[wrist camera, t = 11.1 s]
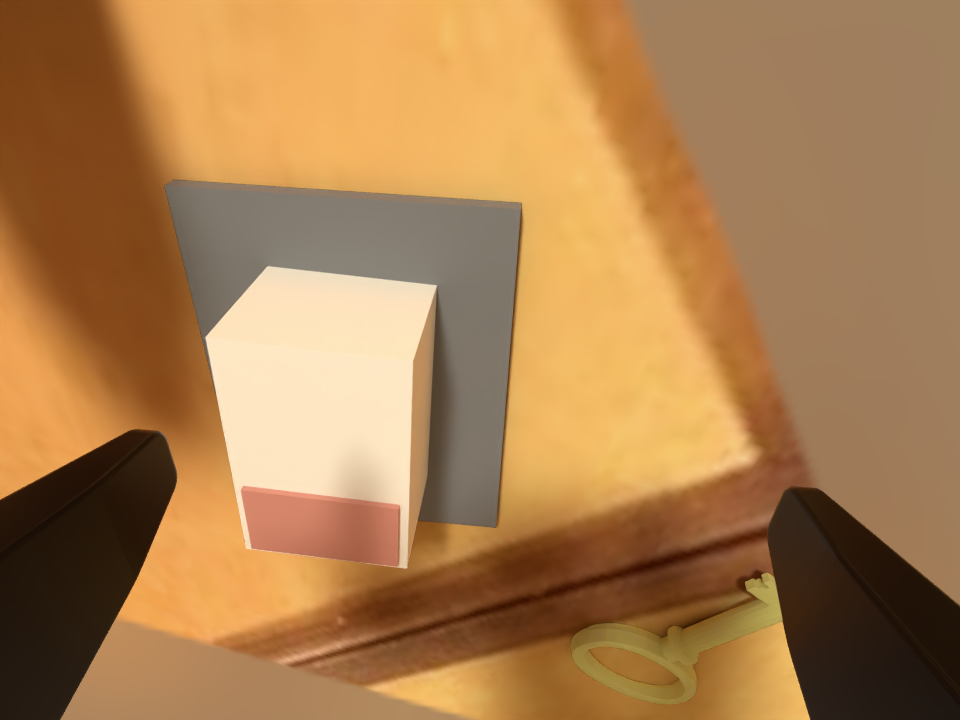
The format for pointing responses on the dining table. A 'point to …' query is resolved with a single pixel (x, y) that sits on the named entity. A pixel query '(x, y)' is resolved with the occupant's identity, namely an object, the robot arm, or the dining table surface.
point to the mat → (391, 256)
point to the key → (675, 644)
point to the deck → (327, 412)
